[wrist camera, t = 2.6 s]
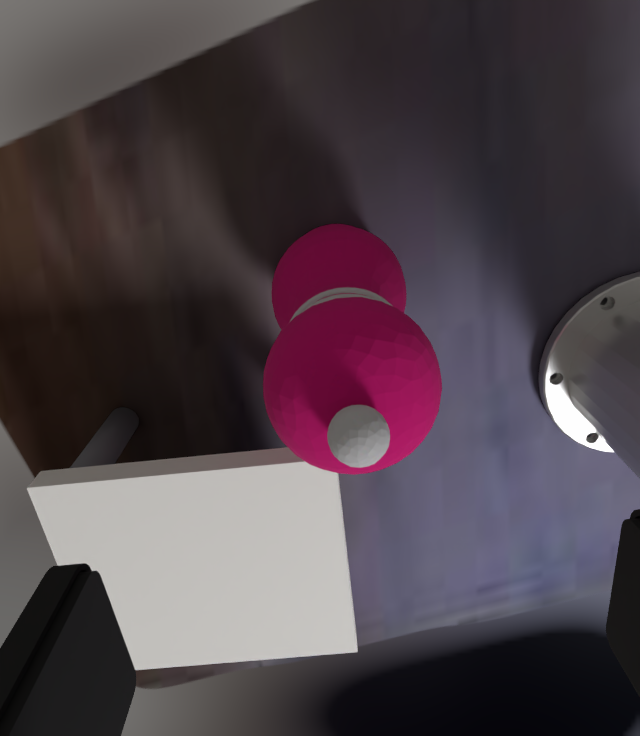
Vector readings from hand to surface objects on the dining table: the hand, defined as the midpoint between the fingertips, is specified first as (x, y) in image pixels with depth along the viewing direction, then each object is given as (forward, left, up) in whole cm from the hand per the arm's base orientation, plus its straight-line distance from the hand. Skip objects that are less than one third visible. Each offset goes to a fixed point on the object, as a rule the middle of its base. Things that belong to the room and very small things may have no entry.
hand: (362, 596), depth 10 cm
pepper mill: (0, 0, -25) cm, 25 cm away
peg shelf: (+9, +14, -25) cm, 30 cm away
